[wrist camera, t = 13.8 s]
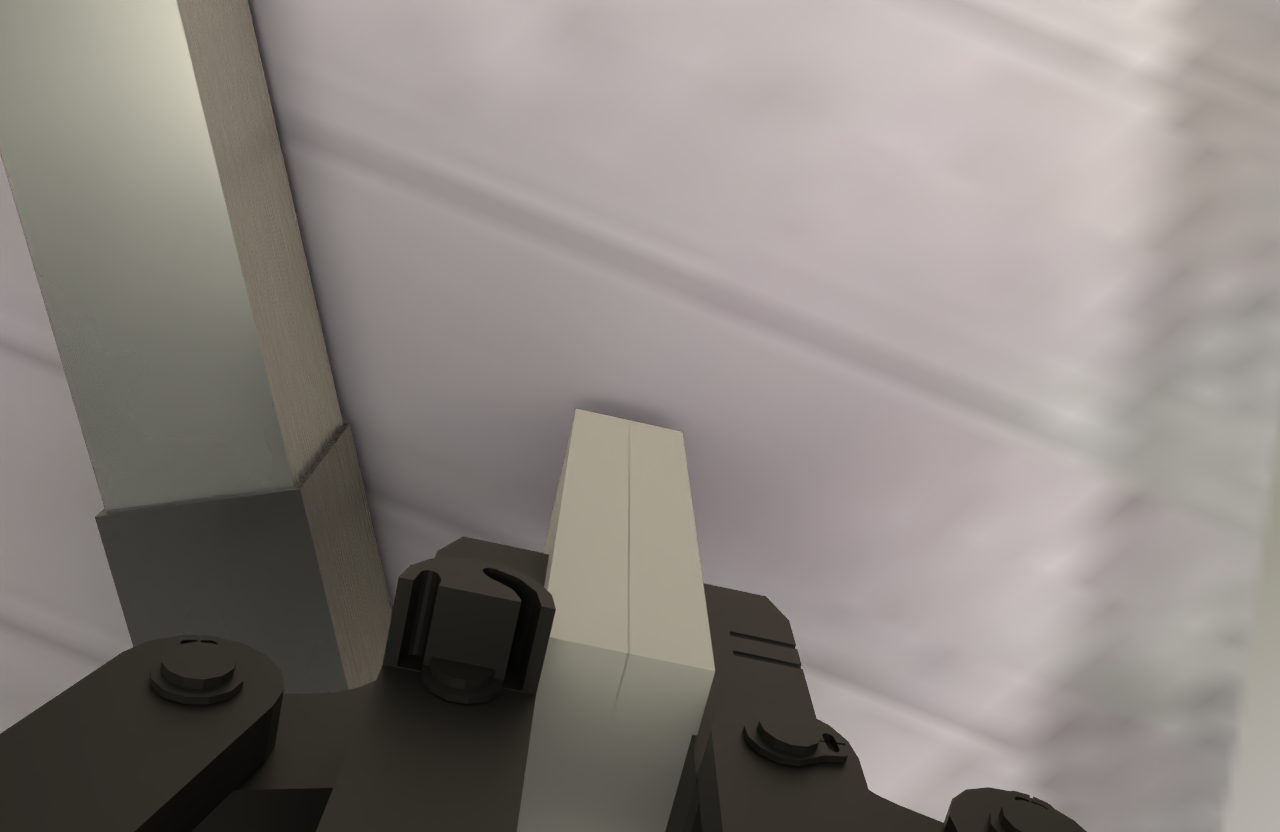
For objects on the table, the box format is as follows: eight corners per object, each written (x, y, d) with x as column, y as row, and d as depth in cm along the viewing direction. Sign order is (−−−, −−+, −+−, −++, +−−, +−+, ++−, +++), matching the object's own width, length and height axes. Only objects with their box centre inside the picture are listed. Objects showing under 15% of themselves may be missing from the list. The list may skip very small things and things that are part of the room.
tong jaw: (-115, -623, 14) (-441, -918, 9) (107, -661, 13) (-125, -976, 9) (240, 687, 18) (128, 870, 14) (404, 666, 18) (338, 844, 14)
